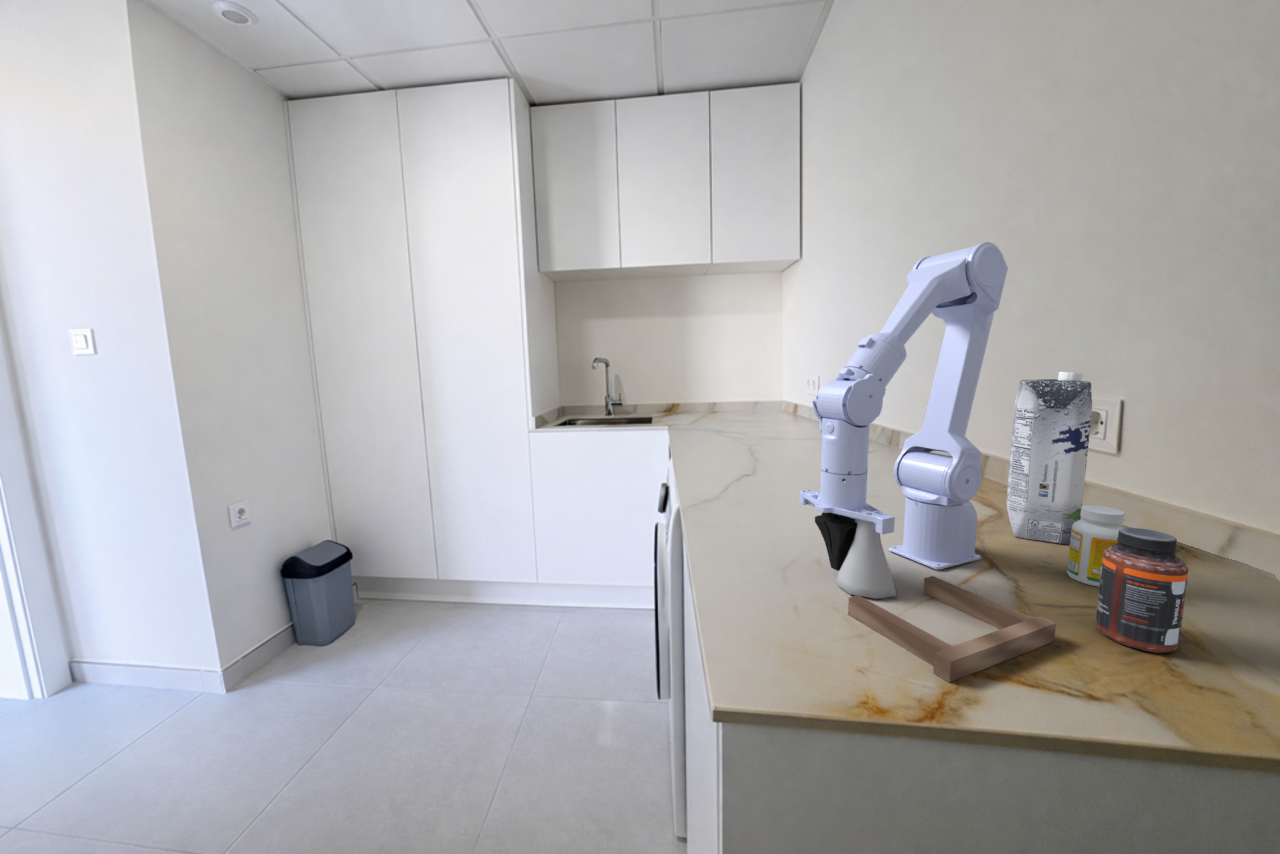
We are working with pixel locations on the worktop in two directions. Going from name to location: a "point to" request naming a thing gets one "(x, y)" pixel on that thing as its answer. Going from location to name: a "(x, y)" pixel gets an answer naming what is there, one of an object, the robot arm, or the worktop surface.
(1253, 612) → the worktop surface
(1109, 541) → the supplement bottle
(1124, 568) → the supplement bottle
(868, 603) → the walnut bay
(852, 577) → the flask
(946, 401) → the robot arm
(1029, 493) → the juice carton
